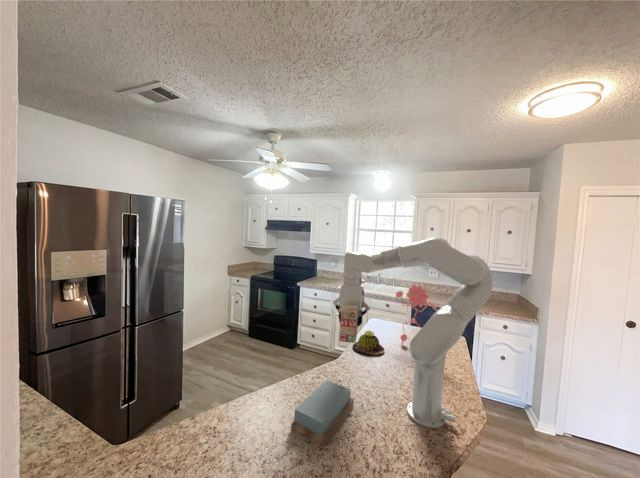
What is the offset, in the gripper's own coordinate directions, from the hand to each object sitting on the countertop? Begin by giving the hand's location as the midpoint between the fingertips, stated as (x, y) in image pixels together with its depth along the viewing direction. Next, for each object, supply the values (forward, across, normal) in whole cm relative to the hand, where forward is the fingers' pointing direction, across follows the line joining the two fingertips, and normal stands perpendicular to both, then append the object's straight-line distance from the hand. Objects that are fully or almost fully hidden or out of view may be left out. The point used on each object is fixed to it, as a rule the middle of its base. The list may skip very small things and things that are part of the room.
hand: (350, 322), depth 112 cm
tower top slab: (+22, -1, +25) cm, 33 cm away
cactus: (+26, +1, -36) cm, 44 cm away
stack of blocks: (+4, 0, 0) cm, 4 cm away
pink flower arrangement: (+26, -20, -55) cm, 64 cm away
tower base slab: (+26, -1, +25) cm, 36 cm away
